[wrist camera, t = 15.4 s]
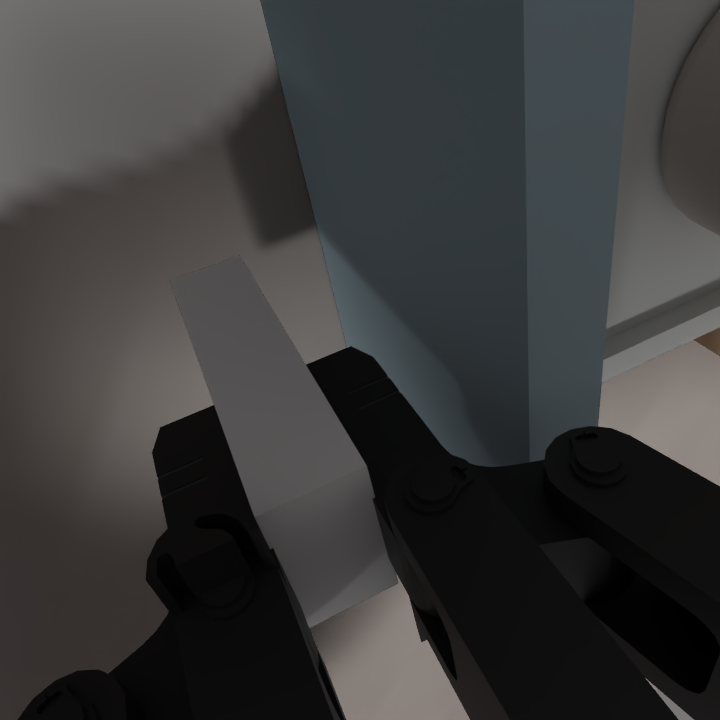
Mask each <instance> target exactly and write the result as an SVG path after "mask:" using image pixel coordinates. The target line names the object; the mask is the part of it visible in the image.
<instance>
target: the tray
mask: <svg viewBox="0 0 720 720" xmlns="http://www.w3.org/2000/svg"><path fill="white" fill-rule="evenodd" d="M260 1H261V5H262V9H263V13H264V17H265V21H266V25H267V29H268V33H269V37H270V41H271V45H272V49H273V53H274V57H275V61H276V65H277V69H278V73H279V77H280V81H281V85H282V89H283V93H284V97H285V101H286V105H287V109H288V113H289V117H290V121H291V125H292V129H293V133H294V137H295V141H296V145H297V149H298V153H299V157H300V161H301V165H302V169H303V173H304V177H305V181H306V185H307V189H308V193H309V197H310V201H311V205H312V209H313V213H314V217H315V221H316V225H317V229H318V233H319V237H320V241H321V245H322V249H323V253H324V257H325V261H326V265H327V269H328V273H329V277H330V281H331V285H332V289H333V293H334V297H335V301H336V305H337V309H338V313H339V317H340V321H341V325H342V329H343V333H344V337H345V341H346V345H347V348H348V347H350V346H352V347H354V348H356V349H358V350H360V351H362V352H364V353H366V354H368V355H370V356H373V357H374V358H375V360H376V361H377V362H378V363H379V365H380V366H381V367H382V369H383V370H384V371H385V372H386V374H387V376H388V378H390V379H391V380H392V382H393V383H394V384H395V385H396V387H397V388H398V390H399V392H400V393H402V394H403V396H404V397H405V398H406V400H407V401H408V402H409V403H410V405H411V406H412V407H413V409H414V410H415V411H416V413H417V414H418V415H419V416H420V418H421V419H422V420H423V422H424V423H425V424H426V425H427V427H428V428H429V429H430V431H431V432H432V433H433V434H434V436H435V437H436V438H437V440H438V441H439V442H440V444H441V445H442V446H443V447H444V448H445V449H446V450H447V451H448V452H449V453H450V454H451V455H454V456H457V457H460V458H463V459H465V460H467V461H468V462H469V463H471V464H474V465H478V466H487V467H498V466H509V465H515V464H521V463H527V462H533V461H539V460H544V459H545V452H546V449H547V448H548V446H549V445H550V444H551V443H552V441H553V440H554V439H555V438H556V437H557V436H559V435H561V434H563V433H565V432H567V431H569V430H570V429H575V428H581V427H587V426H595V427H598V419H599V407H600V395H601V384H602V383H603V382H605V381H607V380H609V379H611V378H613V377H615V376H618V375H620V374H622V373H624V372H626V371H628V370H630V369H632V368H634V367H637V366H639V365H641V364H643V363H645V362H647V361H649V360H651V359H654V358H656V357H658V356H660V355H662V354H664V353H666V352H668V351H671V350H673V349H675V348H677V347H679V346H681V345H683V344H685V343H687V342H690V341H692V340H694V339H696V338H698V337H700V336H702V335H704V334H707V333H709V332H711V331H713V330H715V329H717V328H719V327H720V236H719V235H717V234H715V233H713V232H711V231H710V230H708V229H706V228H704V227H702V226H700V225H699V224H697V223H695V222H693V221H692V220H690V219H689V218H688V217H686V216H685V215H684V214H683V213H682V212H681V211H680V210H679V209H678V208H677V207H676V206H675V204H674V202H673V201H672V199H671V197H670V196H669V194H668V191H667V188H666V185H665V181H664V177H663V173H662V165H661V143H662V133H663V128H664V123H665V117H666V112H667V108H668V105H669V101H670V98H671V95H672V92H673V90H674V87H675V84H676V82H677V79H678V77H679V75H680V73H681V70H682V68H683V66H684V63H685V61H686V59H687V57H688V56H689V54H690V52H691V50H692V49H693V47H694V45H695V44H696V42H697V40H698V39H699V37H700V35H701V33H702V32H703V30H704V28H705V27H706V26H707V24H708V23H709V22H710V21H711V19H712V18H713V17H714V16H715V14H716V13H717V12H718V10H719V9H720V0H260Z"/></svg>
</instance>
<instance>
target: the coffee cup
mask: <svg viewBox="0 0 720 720" xmlns="http://www.w3.org/2000/svg"><path fill="white" fill-rule="evenodd" d="M661 165H662V173H663V177H664V181H665V185H666V188H667V191H668V194H669V196H670V197H671V199H672V201H673V202H674V204H675V206H676V207H677V208H678V209H679V210H680V211H681V212H682V213H683V214H684V215H685V216H686V217H688V218H689V219H690V220H692V221H693V222H695V223H697V224H699V225H700V226H702V227H704V228H706V229H708V230H710V231H711V232H713V233H715V234H717V235H719V236H720V9H719V10H718V12H717V13H716V14H715V16H714V17H713V18H712V19H711V21H710V22H709V23H708V24H707V26H706V27H705V28H704V30H703V32H702V33H701V35H700V37H699V39H698V40H697V42H696V44H695V45H694V47H693V49H692V50H691V52H690V54H689V56H688V57H687V59H686V61H685V63H684V66H683V68H682V70H681V73H680V75H679V77H678V79H677V82H676V84H675V87H674V90H673V92H672V95H671V98H670V101H669V105H668V108H667V112H666V117H665V123H664V128H663V133H662V143H661Z"/></svg>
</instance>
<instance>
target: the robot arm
mask: <svg viewBox="0 0 720 720" xmlns="http://www.w3.org/2000/svg"><path fill="white" fill-rule="evenodd" d="M170 283H171V286H172V288H173V291H174V294H175V297H176V300H177V302H178V305H179V308H180V311H181V314H182V316H183V319H184V322H185V325H186V328H187V330H188V333H189V336H190V339H191V342H192V344H193V347H194V350H195V353H196V355H197V358H198V361H199V364H200V367H201V369H202V372H203V375H204V378H205V381H206V383H207V386H208V389H209V392H210V395H211V397H212V400H213V403H214V405H213V406H211V407H208V408H206V409H203V410H201V411H199V412H196V413H194V414H191V415H189V416H187V417H184V418H182V419H179V420H177V421H175V422H172V423H170V424H167V425H165V426H163V427H160V430H159V433H158V436H157V439H156V442H155V445H154V449H153V452H152V454H153V459H154V464H155V469H156V474H157V477H158V479H159V480H158V483H159V488H160V493H161V496H162V499H163V500H162V503H163V508H164V512H165V517H166V522H167V527H168V529H167V530H166V531H165V532H164V533H163V534H162V536H161V537H160V538H159V539H158V540H157V541H156V543H155V545H154V547H153V550H152V552H151V554H150V556H149V558H148V560H147V571H146V581H147V582H148V584H149V585H150V586H151V588H152V589H153V590H154V592H155V593H156V594H157V596H158V597H159V598H160V600H161V601H162V602H163V604H164V605H165V606H166V608H167V609H168V610H169V613H168V615H167V617H166V618H165V619H164V621H163V622H162V624H161V625H160V627H159V628H158V629H157V631H156V632H155V633H154V634H153V635H152V636H151V637H150V638H149V639H148V640H147V641H146V642H145V643H144V644H143V645H142V646H141V647H139V648H138V649H137V650H136V651H135V652H134V653H132V654H131V655H130V656H129V657H128V658H126V659H125V660H124V661H123V662H122V663H121V664H119V665H118V666H117V667H116V668H115V669H114V670H112V671H111V672H110V673H109V674H107V673H105V672H103V671H101V670H82V671H76V672H74V673H71V674H69V675H67V676H65V677H63V678H60V679H58V680H56V681H54V682H53V683H52V684H51V685H49V686H48V687H47V688H46V689H44V690H43V691H42V692H41V693H40V694H38V695H37V696H36V697H35V698H34V699H33V700H32V701H31V702H30V704H29V705H28V706H27V708H26V709H25V710H24V712H23V713H22V714H21V716H20V717H19V718H18V720H346V718H345V716H344V713H343V710H342V708H341V705H340V703H339V700H338V697H337V695H336V692H335V690H334V687H333V684H332V682H331V679H330V677H329V674H328V671H327V669H326V666H325V664H324V662H323V660H322V658H321V656H320V654H319V651H318V649H317V647H316V645H315V642H314V639H313V637H312V634H311V631H310V629H309V628H311V627H313V626H315V625H317V624H319V623H321V622H323V621H325V620H327V619H329V618H331V617H333V616H335V615H337V614H339V613H340V612H342V611H344V610H346V609H348V608H350V607H352V606H354V605H356V604H358V603H360V602H362V601H364V600H366V599H368V598H370V597H372V596H374V595H376V594H378V593H380V592H382V591H384V590H386V589H388V588H390V587H392V586H394V585H396V584H398V580H397V576H396V573H397V575H398V577H399V579H400V580H401V582H402V584H403V586H404V588H405V589H406V591H407V593H408V595H409V598H410V601H411V605H412V609H413V613H414V617H415V621H416V625H417V629H418V632H419V635H420V639H421V642H423V641H425V640H428V642H429V644H430V646H431V648H432V649H433V651H434V653H435V655H436V657H437V659H438V661H439V662H440V664H441V666H442V668H443V670H444V672H445V674H446V675H447V677H448V679H449V681H450V683H451V685H452V687H453V688H454V690H455V692H456V694H457V696H458V698H459V700H460V701H461V703H462V705H463V707H464V709H465V711H466V713H467V714H468V716H469V718H470V720H678V719H677V717H676V716H675V715H674V714H673V712H672V711H671V710H670V709H669V707H668V706H667V705H666V704H665V702H664V701H663V700H662V699H661V697H660V696H659V695H658V694H657V692H656V691H655V690H654V689H653V687H652V686H651V685H650V684H649V682H648V681H647V680H649V681H650V682H651V683H652V684H653V685H654V686H656V687H657V688H658V689H659V690H660V691H662V692H663V693H664V694H665V695H666V696H667V697H668V698H670V699H671V700H672V701H673V702H674V703H675V704H677V705H678V706H679V707H680V708H681V709H683V710H684V711H685V712H686V713H687V714H688V715H689V716H691V717H692V718H693V719H694V720H720V486H718V485H716V484H714V483H713V482H711V481H709V480H707V479H706V478H704V477H702V476H700V475H698V474H697V473H695V472H693V471H691V470H690V469H688V468H686V467H684V466H683V465H681V464H679V463H677V462H676V461H674V460H672V459H670V458H669V457H667V456H665V455H663V454H661V453H660V452H658V451H656V450H654V449H653V448H651V447H649V446H647V445H646V444H644V443H642V442H640V441H639V440H637V439H635V438H633V437H632V436H630V435H627V434H624V433H622V432H619V431H617V430H614V429H612V428H605V427H595V426H587V427H581V428H575V429H570V430H569V431H567V432H565V433H563V434H561V435H559V436H557V437H556V438H555V439H554V440H553V441H552V443H551V444H550V445H549V446H548V448H547V449H546V452H545V459H544V460H539V461H533V462H527V463H521V464H515V465H509V466H498V467H487V466H478V465H474V464H471V463H469V462H468V461H467V460H465V459H463V458H460V457H457V456H454V455H451V454H450V453H449V452H448V451H447V450H446V449H445V448H444V447H443V446H442V445H441V444H440V442H439V441H438V440H437V438H436V437H435V436H434V434H433V433H432V432H431V431H430V429H429V428H428V427H427V425H426V424H425V423H424V422H423V420H422V419H421V418H420V416H419V415H418V414H417V413H416V411H415V410H414V409H413V407H412V406H411V405H410V403H409V402H408V401H407V400H406V398H405V397H404V396H403V394H402V393H400V392H399V390H398V388H397V387H396V385H395V384H394V383H393V382H392V380H391V379H390V378H388V376H387V374H386V372H385V371H384V370H383V369H382V367H381V366H380V365H379V363H378V362H377V361H376V360H375V358H374V357H373V356H370V355H368V354H366V353H364V352H362V351H360V350H358V349H356V348H354V347H352V346H350V347H348V348H345V349H343V350H341V351H338V352H336V353H333V354H331V355H328V356H326V357H324V358H321V359H319V360H316V361H314V362H312V363H309V364H307V365H306V364H305V363H304V361H303V359H302V358H301V356H300V354H299V353H298V351H297V349H296V348H295V346H294V344H293V343H292V341H291V339H290V338H289V336H288V334H287V333H286V331H285V329H284V328H283V326H282V324H281V323H280V321H279V319H278V318H277V316H276V315H275V313H274V311H273V310H272V308H271V306H270V305H269V303H268V301H267V300H266V298H265V296H264V295H263V293H262V291H261V290H260V288H259V286H258V285H257V283H256V281H255V280H254V278H253V276H252V275H251V273H250V271H249V270H248V268H247V266H246V265H245V263H244V262H243V260H242V258H241V257H240V255H238V256H236V257H233V258H230V259H228V260H225V261H222V262H219V263H217V264H214V265H211V266H208V267H206V268H203V269H200V270H198V271H195V272H192V273H189V274H187V275H184V276H181V277H179V278H176V279H173V280H170ZM395 571H396V572H395ZM645 678H646V679H647V680H646V679H645Z"/></svg>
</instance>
